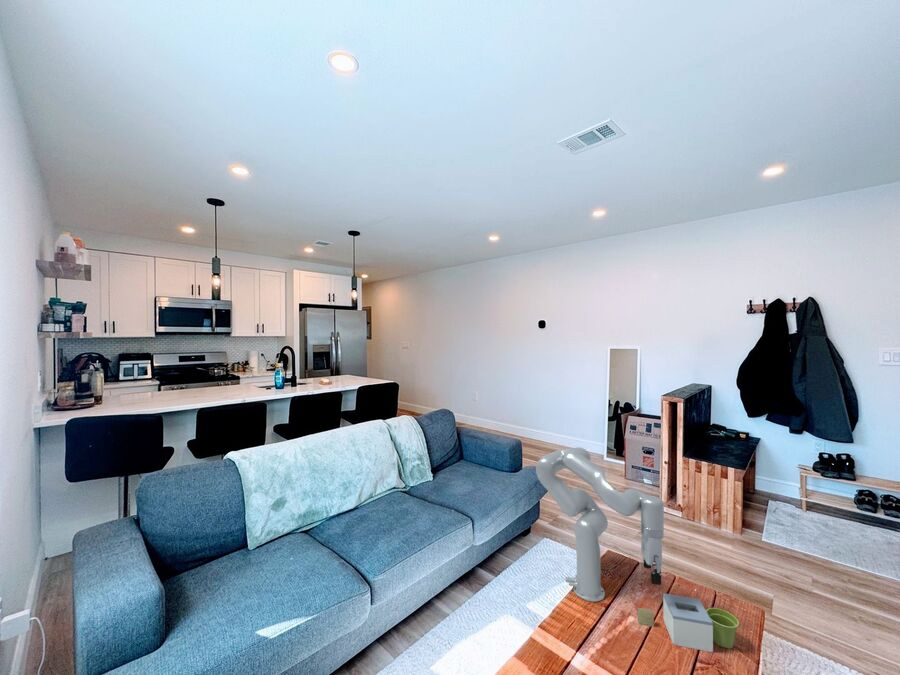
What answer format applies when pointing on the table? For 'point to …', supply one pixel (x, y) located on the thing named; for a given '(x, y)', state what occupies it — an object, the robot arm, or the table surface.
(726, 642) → the plant pot
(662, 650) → the table surface
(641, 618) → the block
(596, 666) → the table surface
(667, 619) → the grey slotted box
